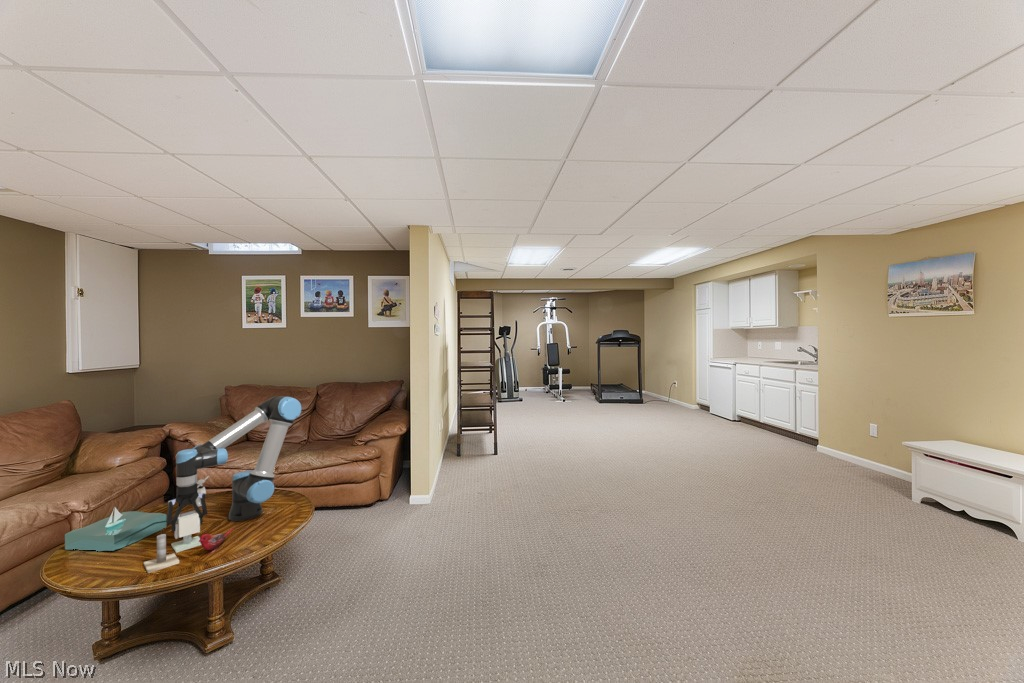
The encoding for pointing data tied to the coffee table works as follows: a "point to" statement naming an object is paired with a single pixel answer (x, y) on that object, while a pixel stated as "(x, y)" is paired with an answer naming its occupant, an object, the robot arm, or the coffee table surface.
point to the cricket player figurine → (200, 490)
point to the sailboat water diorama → (115, 531)
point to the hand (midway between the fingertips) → (187, 534)
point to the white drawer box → (188, 523)
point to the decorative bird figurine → (212, 540)
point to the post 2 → (186, 543)
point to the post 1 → (161, 557)
